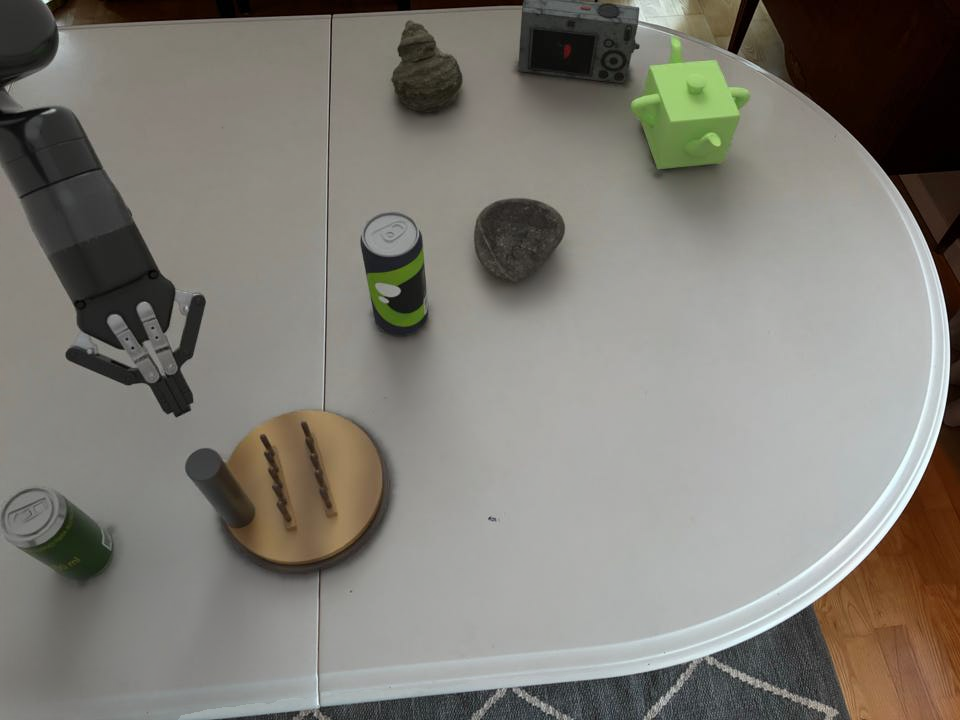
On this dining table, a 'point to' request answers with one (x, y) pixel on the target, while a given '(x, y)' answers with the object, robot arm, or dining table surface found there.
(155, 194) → the dining table surface
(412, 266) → the beverage can
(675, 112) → the teapot
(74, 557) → the beer can
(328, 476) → the dish rack
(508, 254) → the stone
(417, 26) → the seashell
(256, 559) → the base
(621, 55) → the camera
